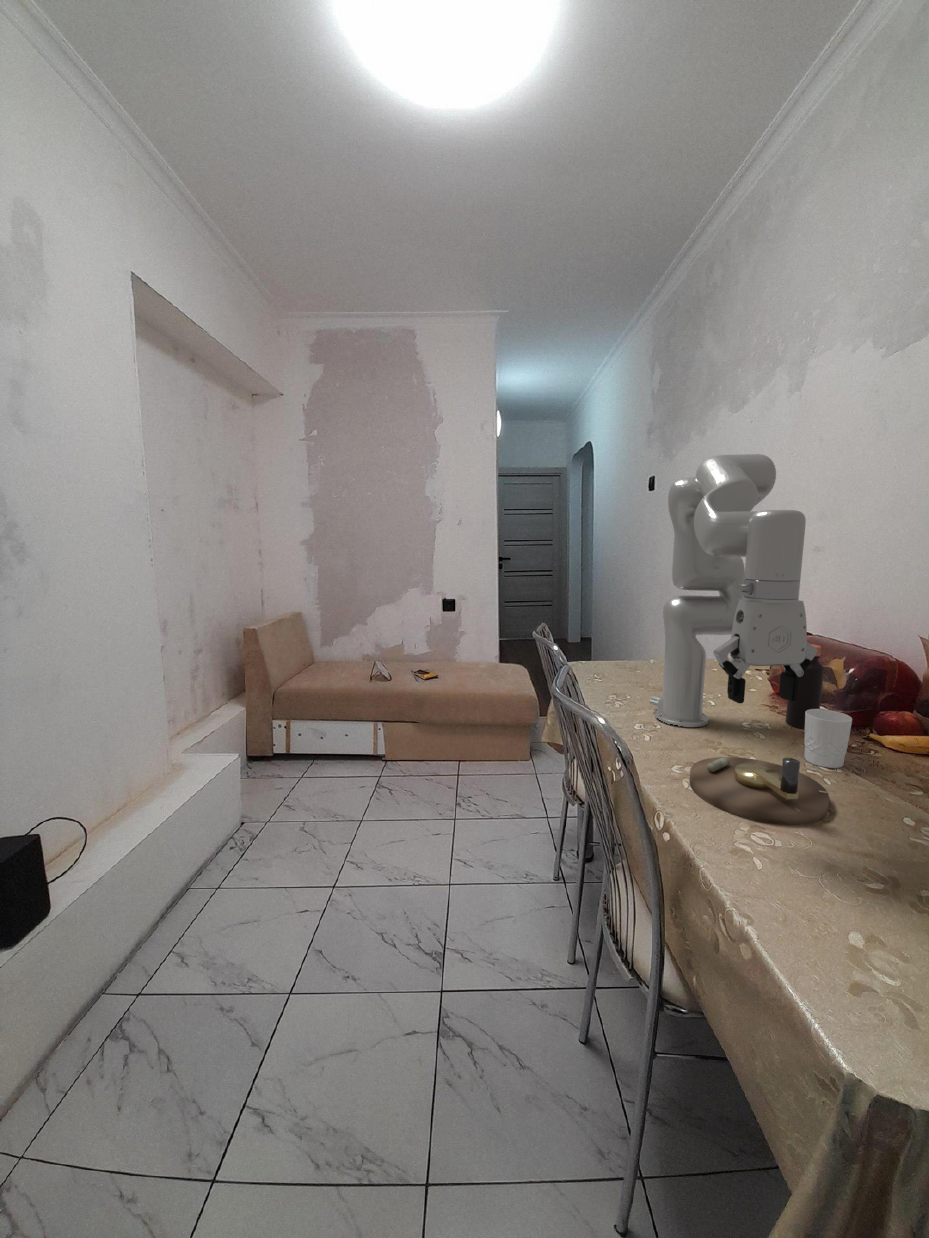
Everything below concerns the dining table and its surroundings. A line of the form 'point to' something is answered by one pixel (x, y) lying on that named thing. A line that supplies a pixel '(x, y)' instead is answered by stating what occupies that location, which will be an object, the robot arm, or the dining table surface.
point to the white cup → (826, 737)
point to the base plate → (756, 793)
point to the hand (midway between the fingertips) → (761, 699)
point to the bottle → (806, 693)
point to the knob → (771, 777)
